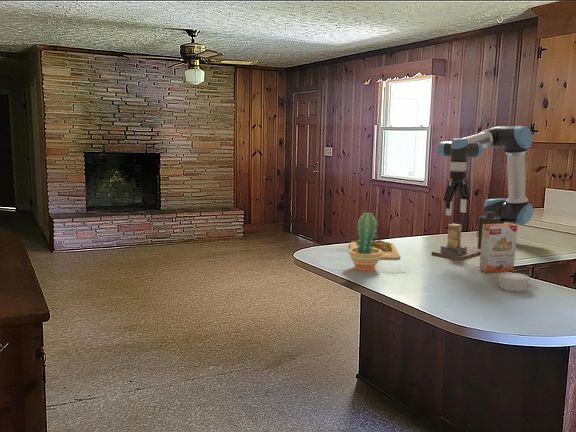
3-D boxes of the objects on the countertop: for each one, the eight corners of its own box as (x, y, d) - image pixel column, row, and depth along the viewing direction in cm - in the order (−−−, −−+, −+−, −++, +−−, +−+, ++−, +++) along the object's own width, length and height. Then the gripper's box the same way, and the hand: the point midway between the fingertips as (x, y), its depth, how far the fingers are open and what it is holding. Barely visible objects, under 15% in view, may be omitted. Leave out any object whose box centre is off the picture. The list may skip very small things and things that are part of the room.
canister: (495, 248, 284) (497, 210, 281) (500, 252, 274) (503, 213, 271) (474, 247, 285) (476, 210, 282) (478, 251, 275) (481, 213, 272)
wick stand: (456, 247, 284) (457, 239, 283) (485, 253, 272) (485, 244, 272) (431, 254, 268) (431, 245, 267) (460, 260, 256) (461, 251, 255)
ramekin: (503, 283, 218) (504, 270, 218) (532, 288, 211) (533, 275, 210) (493, 289, 210) (494, 276, 209) (523, 294, 203) (524, 281, 202)
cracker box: (487, 273, 233) (490, 226, 229) (478, 270, 238) (481, 223, 235) (514, 271, 236) (518, 224, 233) (505, 268, 242) (509, 222, 239)
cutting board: (400, 261, 257) (401, 245, 255) (351, 259, 259) (352, 244, 257) (392, 245, 291) (393, 232, 290) (349, 244, 293) (349, 231, 292)
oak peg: (451, 250, 270) (453, 223, 267) (459, 252, 266) (461, 224, 264) (446, 252, 267) (448, 224, 264) (455, 253, 263) (456, 225, 261)
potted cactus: (388, 267, 241) (390, 212, 237) (369, 274, 230) (371, 216, 226) (360, 262, 251) (361, 209, 247) (340, 268, 240) (342, 213, 236)
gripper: (464, 168, 271) (462, 210, 275) (437, 171, 255) (435, 215, 258) (478, 169, 266) (475, 211, 269) (451, 172, 249) (449, 217, 252)
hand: (455, 213), depth 264 cm, fingers open, 13 cm apart
